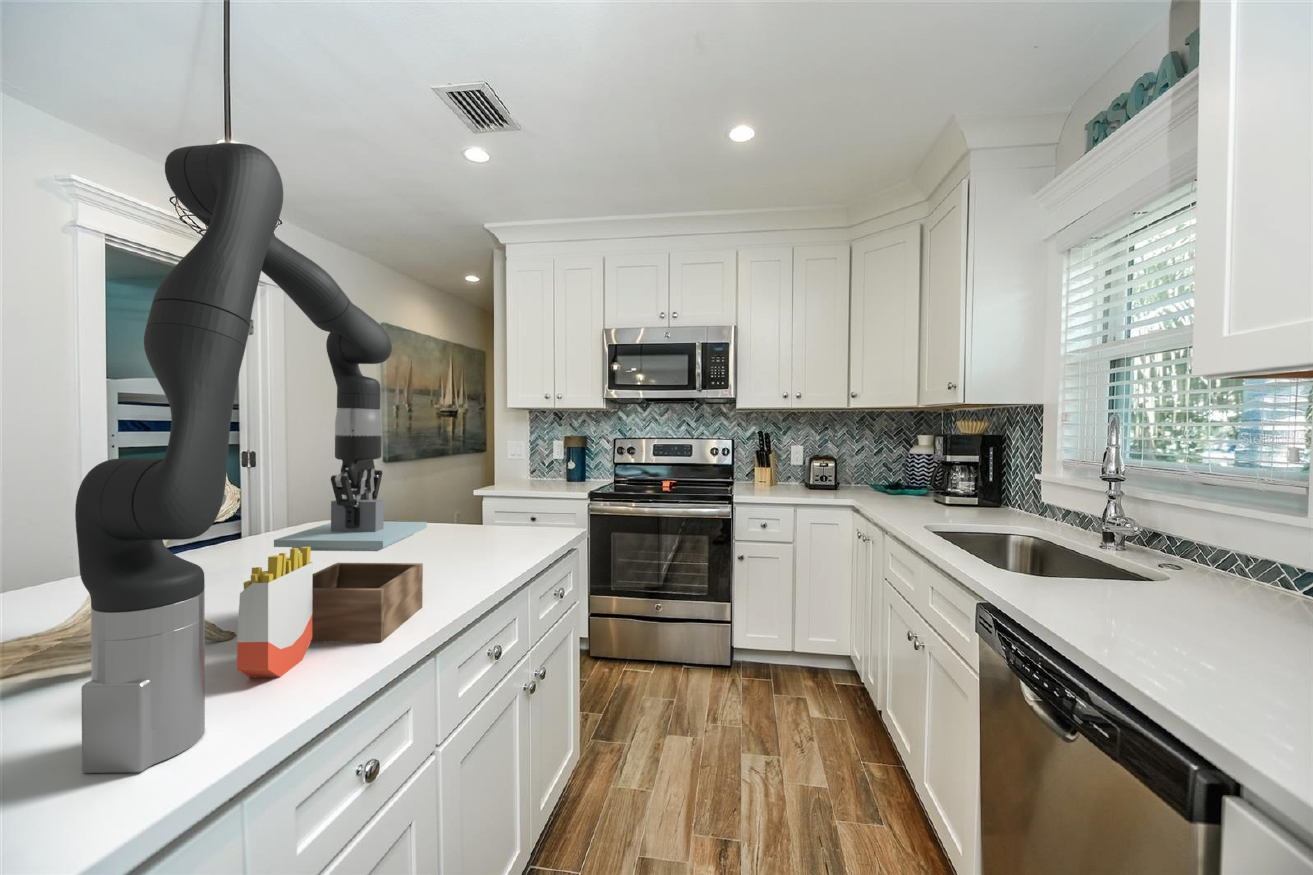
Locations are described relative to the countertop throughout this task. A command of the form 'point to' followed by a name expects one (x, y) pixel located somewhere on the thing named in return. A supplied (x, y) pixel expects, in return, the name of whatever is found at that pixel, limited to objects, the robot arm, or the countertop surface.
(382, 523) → the lid
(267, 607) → the french fries container
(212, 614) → the countertop surface
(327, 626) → the wooden box
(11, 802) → the countertop surface
